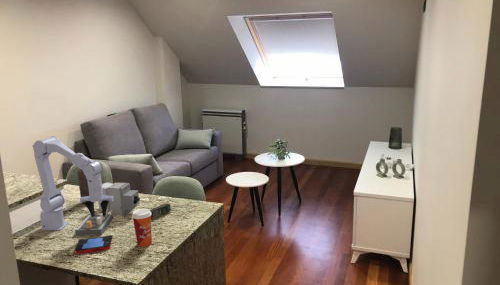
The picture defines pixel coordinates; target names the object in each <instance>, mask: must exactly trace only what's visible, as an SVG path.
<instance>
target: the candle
mask: <svg viewBox="0 0 500 285" xmlns="http://www.w3.org/2000/svg"><path fill="white" fill-rule="evenodd" d="M76 170H77V171H76V173H77V180H78V181H77V182H78V187H79V195H80V196H79V197H80V198H81V197H86V196H89V188H88V180H87V179H86V176H85V174H84V173H83V170H82V169H80V168H77V169H76ZM81 203H83V204H85V203H86V202H81Z"/></svg>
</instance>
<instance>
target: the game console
mask: <svg viewBox="0 0 500 285" xmlns="http://www.w3.org/2000/svg"><path fill="white" fill-rule="evenodd" d="M113 237H114V236H113V235H110V234H109V235H105V236H96V237H89V238H88V237H87V238H81V239H79V240H78V242H77V243H76V246H75V249H74V252H75V254H77V255H80V254H87V253H88V254H89V253H94V252H103V251H108V250H110V249H111V244H112V241H113V239H114V238H113Z"/></svg>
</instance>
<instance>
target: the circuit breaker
mask: <svg viewBox="0 0 500 285" xmlns="http://www.w3.org/2000/svg"><path fill="white" fill-rule="evenodd" d="M112 184H113V185H111V186H110V187H108V196H113V198H114V200H113V201H112V202H111V206H110V210H109V212H110V213H109V214H113V217H114V216H118V217H126V216H127V215H129V214H130V213H131V212H133V210H134V209H136V208H137V207H138V206H139V205H140V200H141V198H140V194H139V190H135V189H131V184H130V183H129V182H114V183H112ZM109 193H110V194H109Z"/></svg>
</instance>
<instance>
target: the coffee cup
mask: <svg viewBox="0 0 500 285" xmlns="http://www.w3.org/2000/svg"><path fill="white" fill-rule="evenodd" d="M150 210H151V209H149V208H137V209H135V210H134V211H132V214H131V218H132V221H133V225H134V226H133V228H134V231H135V237H136V239H135V240H136V244H137V246H138V247H139V248H145V247H149V246H151V245H152V238H153V237H152V236H153V235H152V220H151V214H152V213H151V212H150Z"/></svg>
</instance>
